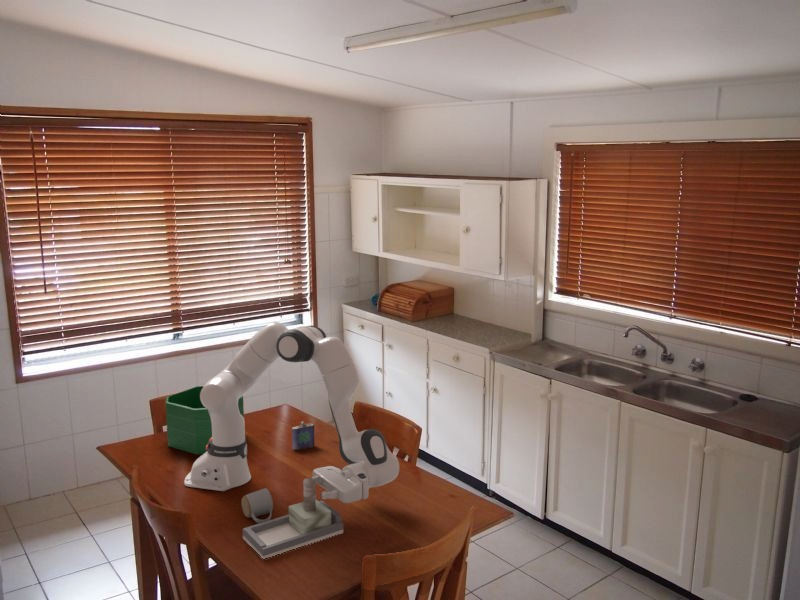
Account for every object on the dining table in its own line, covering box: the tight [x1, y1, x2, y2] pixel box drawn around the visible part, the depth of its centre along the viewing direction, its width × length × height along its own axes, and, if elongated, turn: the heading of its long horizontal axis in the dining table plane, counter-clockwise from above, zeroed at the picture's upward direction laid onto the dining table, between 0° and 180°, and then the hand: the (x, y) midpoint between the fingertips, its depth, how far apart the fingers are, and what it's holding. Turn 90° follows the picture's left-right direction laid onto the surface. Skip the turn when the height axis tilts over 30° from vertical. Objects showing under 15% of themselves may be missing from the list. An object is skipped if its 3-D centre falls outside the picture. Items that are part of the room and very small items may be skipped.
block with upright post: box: [288, 477, 331, 534], centre depth 209 cm, size 9×10×15 cm
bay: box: [242, 500, 344, 560], centre depth 207 cm, size 26×14×5 cm, turn 126°
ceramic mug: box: [240, 488, 274, 524], centre depth 218 cm, size 11×8×8 cm
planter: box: [165, 385, 245, 455], centre depth 278 cm, size 26×26×18 cm
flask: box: [291, 420, 315, 451], centre depth 272 cm, size 9×3×11 cm, turn 121°
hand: (313, 490), depth 209 cm, fingers open, 8 cm apart
